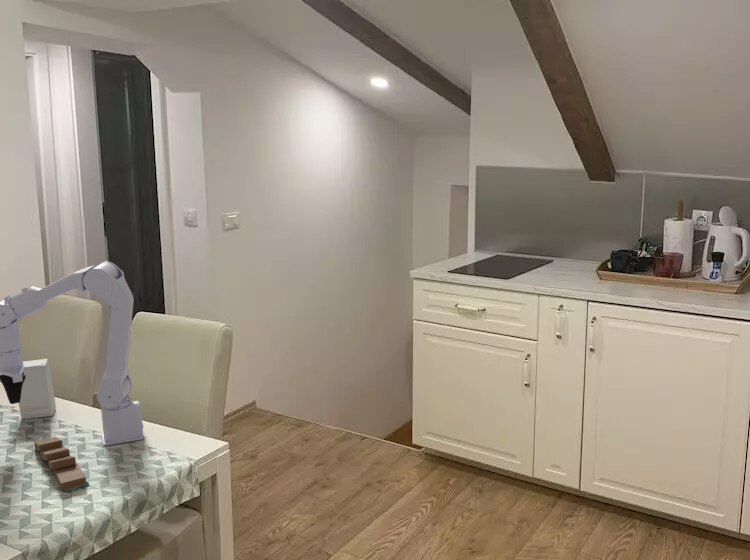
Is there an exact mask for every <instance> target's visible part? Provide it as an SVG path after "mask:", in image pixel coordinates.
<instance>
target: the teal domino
mask: <svg viewBox="0 0 750 560" xmlns="http://www.w3.org/2000/svg"><path fill="white" fill-rule="evenodd" d="M54 478H55V480H56V481H57V479H56V477H55V476H54ZM88 485H90V481H89V480H88V479H87V478H86V484H84V485H80V486H76V487H72V488H69V489H65V490H64V492H68V491H72V490H75V489H79V488H81V487H85V486H88Z"/></svg>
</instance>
